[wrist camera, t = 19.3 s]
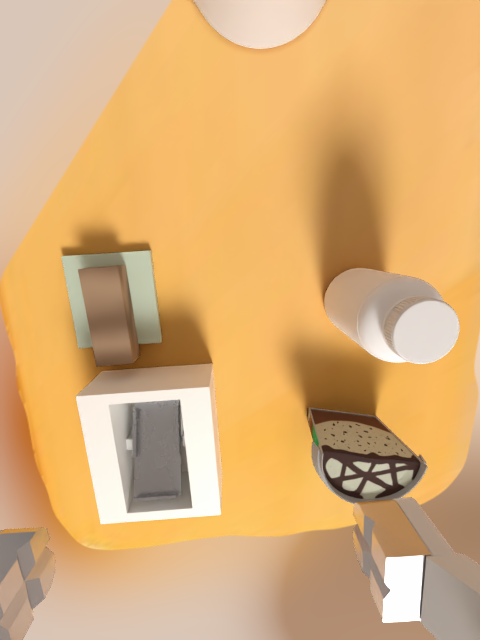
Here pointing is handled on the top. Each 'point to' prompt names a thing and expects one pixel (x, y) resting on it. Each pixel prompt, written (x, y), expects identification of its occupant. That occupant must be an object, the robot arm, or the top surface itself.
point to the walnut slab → (110, 314)
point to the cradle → (157, 450)
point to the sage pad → (140, 290)
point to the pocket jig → (117, 435)
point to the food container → (361, 457)
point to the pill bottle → (392, 315)
